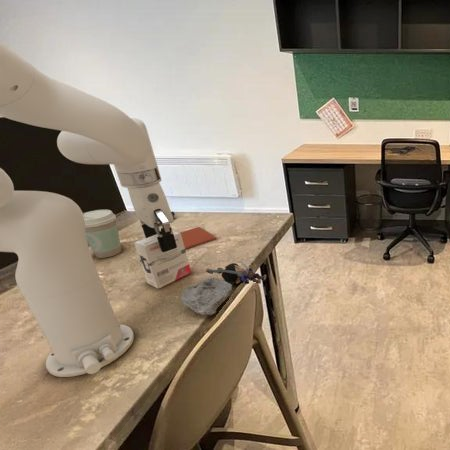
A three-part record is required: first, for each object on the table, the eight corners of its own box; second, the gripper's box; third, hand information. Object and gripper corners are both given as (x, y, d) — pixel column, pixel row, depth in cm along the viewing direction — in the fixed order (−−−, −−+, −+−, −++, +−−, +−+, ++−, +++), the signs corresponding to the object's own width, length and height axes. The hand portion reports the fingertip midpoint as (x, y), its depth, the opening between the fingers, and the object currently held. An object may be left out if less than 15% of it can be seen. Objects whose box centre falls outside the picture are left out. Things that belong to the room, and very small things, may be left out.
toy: (262, 258, 83) (208, 250, 86) (252, 282, 80) (196, 273, 83) (272, 267, 88) (220, 259, 91) (262, 291, 85) (209, 281, 88)
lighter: (178, 211, 125) (163, 215, 125) (175, 206, 124) (160, 210, 124) (173, 220, 119) (157, 225, 118) (170, 215, 118) (154, 220, 117)
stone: (214, 261, 78) (216, 288, 71) (236, 277, 83) (239, 304, 75) (180, 286, 77) (178, 316, 70) (203, 301, 82) (203, 331, 74)
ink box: (180, 267, 92) (169, 228, 87) (192, 272, 90) (181, 232, 85) (146, 283, 85) (132, 241, 80) (158, 289, 83) (144, 246, 78)
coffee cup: (88, 252, 98) (72, 213, 93) (124, 243, 103) (112, 206, 98) (91, 263, 92) (74, 223, 87) (129, 253, 98) (116, 215, 93)
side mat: (216, 239, 107) (216, 237, 107) (182, 250, 100) (181, 248, 100) (199, 228, 114) (198, 226, 114) (166, 238, 107) (165, 236, 107)
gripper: (174, 180, 74) (193, 249, 82) (145, 165, 84) (164, 227, 91) (133, 189, 69) (158, 261, 76) (107, 172, 78) (131, 237, 86)
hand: (161, 243), depth 84 cm, fingers open, 9 cm apart
